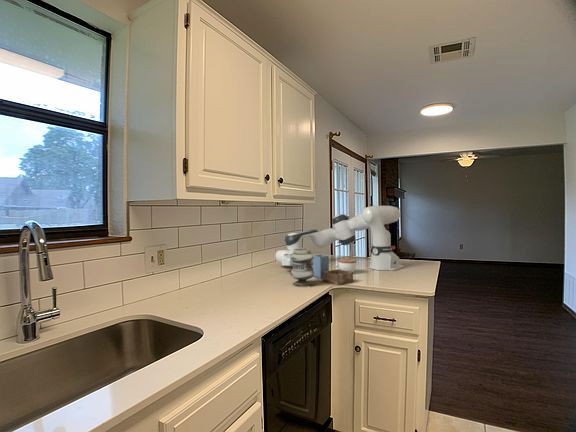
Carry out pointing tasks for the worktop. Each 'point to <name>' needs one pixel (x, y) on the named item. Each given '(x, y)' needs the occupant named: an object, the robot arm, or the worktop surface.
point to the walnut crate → (338, 277)
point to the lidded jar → (347, 264)
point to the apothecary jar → (302, 266)
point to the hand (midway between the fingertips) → (307, 261)
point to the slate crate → (320, 265)
